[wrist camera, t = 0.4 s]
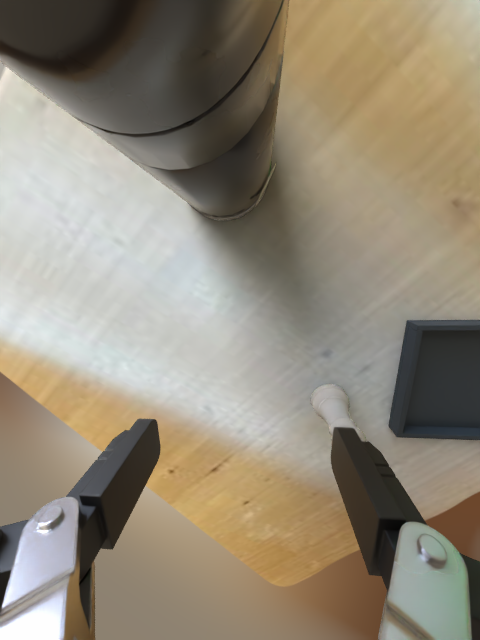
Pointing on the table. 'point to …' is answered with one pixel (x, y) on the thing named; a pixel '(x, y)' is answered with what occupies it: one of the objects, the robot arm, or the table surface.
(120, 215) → the table surface
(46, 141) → the table surface
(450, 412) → the tray
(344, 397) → the rook chess piece
